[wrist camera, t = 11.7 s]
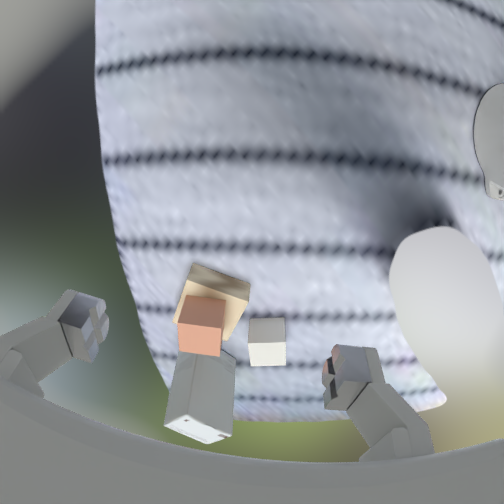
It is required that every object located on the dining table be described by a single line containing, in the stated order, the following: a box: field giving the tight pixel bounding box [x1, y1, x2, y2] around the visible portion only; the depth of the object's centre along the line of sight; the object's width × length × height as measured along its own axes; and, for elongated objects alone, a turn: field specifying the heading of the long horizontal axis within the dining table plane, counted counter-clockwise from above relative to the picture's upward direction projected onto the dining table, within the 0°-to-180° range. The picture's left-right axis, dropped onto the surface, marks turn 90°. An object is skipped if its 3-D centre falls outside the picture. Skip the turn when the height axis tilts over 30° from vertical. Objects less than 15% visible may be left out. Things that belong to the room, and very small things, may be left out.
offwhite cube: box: [248, 317, 286, 366], centre depth 43 cm, size 5×5×5 cm
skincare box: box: [164, 350, 236, 444], centre depth 42 cm, size 8×6×15 cm
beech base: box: [172, 263, 250, 341], centre depth 41 cm, size 8×8×4 cm
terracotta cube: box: [177, 295, 226, 357], centre depth 37 cm, size 5×5×5 cm
